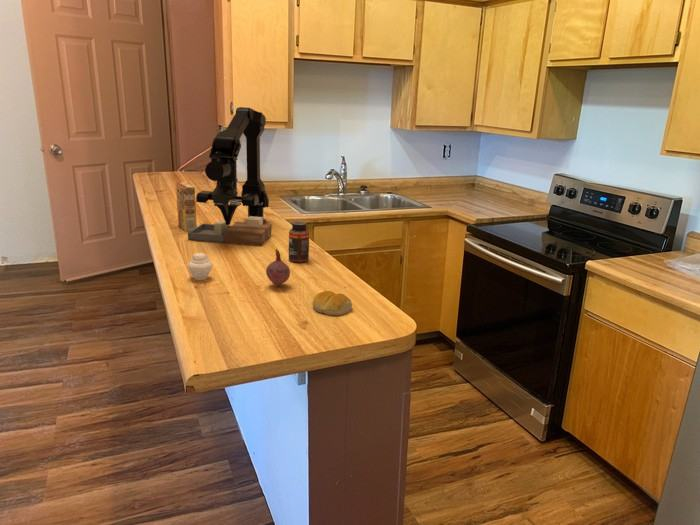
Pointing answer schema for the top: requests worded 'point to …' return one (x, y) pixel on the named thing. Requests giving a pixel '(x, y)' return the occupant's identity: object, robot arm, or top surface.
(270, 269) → the vegetable
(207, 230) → the tray
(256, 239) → the walnut board
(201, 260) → the white lidded jar
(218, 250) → the top surface
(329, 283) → the top surface
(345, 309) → the bread roll
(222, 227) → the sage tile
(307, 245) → the supplement bottle
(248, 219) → the cream tile
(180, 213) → the candy box
